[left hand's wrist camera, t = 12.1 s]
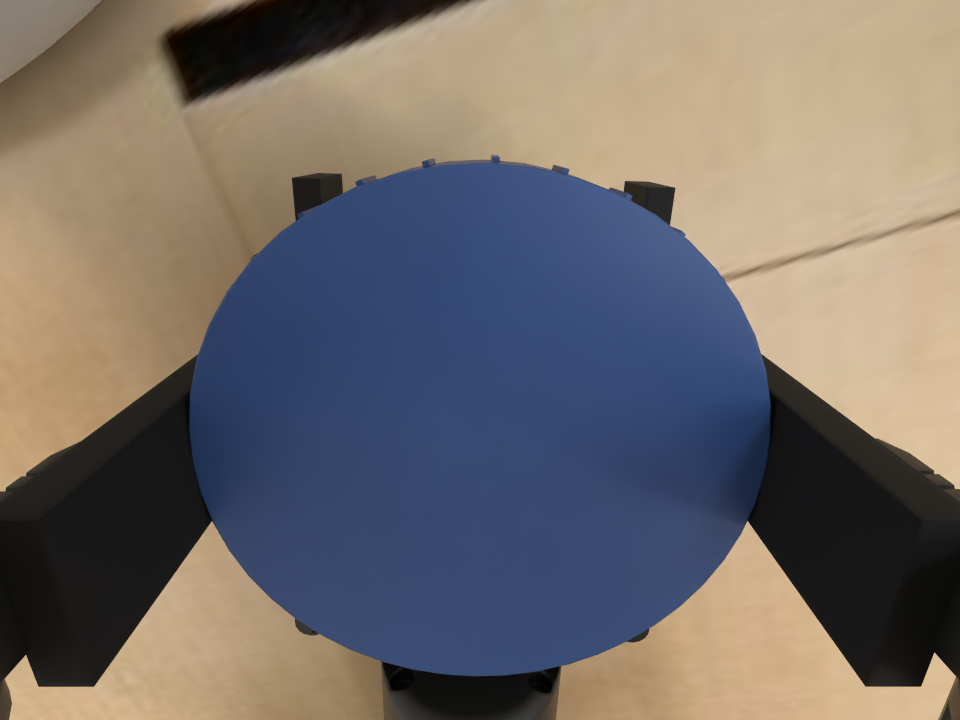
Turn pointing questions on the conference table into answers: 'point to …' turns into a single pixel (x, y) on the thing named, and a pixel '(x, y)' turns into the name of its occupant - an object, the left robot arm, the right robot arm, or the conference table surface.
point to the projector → (35, 28)
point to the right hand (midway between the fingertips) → (483, 180)
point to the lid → (479, 418)
